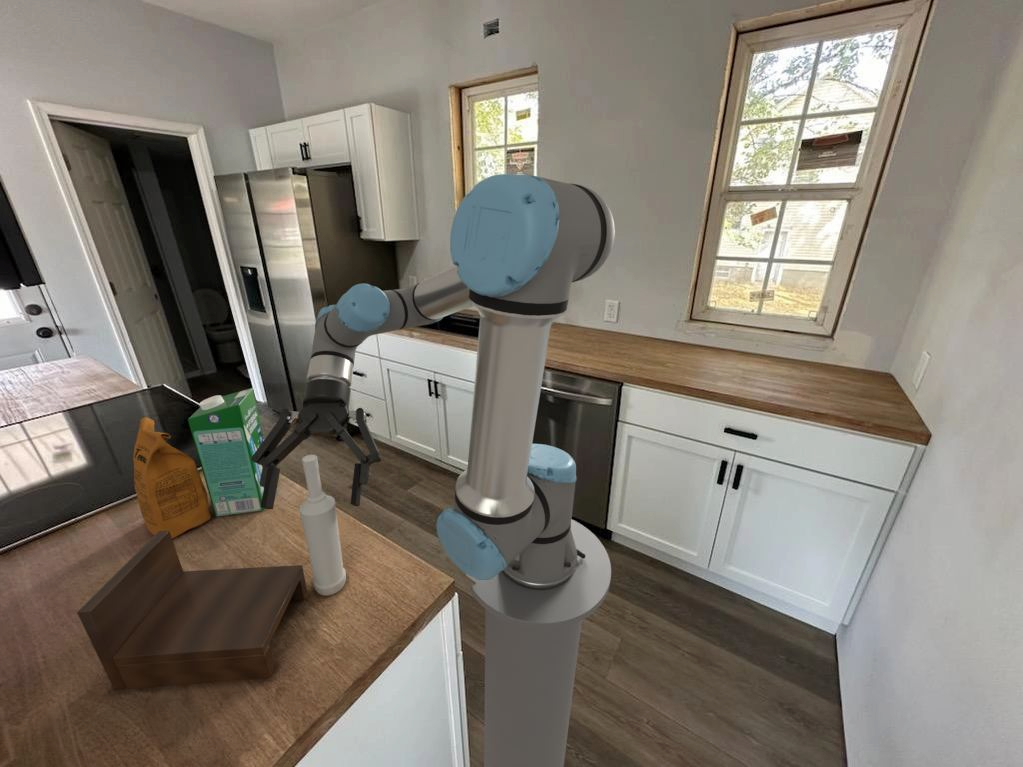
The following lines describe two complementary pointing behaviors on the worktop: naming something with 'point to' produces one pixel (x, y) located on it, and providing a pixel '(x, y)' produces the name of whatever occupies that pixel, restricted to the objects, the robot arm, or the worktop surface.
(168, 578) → the shelf
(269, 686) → the worktop surface
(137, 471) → the coffee package
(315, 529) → the bottle
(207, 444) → the milk carton
